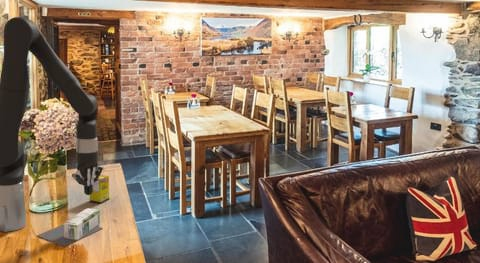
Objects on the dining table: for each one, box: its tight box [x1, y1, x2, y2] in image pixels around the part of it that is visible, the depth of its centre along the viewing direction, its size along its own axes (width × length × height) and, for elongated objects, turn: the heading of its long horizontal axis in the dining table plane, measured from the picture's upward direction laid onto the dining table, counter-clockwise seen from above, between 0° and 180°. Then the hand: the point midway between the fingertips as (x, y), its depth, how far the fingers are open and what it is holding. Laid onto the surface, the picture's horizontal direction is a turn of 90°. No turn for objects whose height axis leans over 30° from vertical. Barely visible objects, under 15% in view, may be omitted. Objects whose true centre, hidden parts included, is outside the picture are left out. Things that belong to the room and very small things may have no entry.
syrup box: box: [62, 207, 101, 241], centre depth 153 cm, size 6×6×14 cm
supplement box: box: [89, 174, 110, 204], centre depth 182 cm, size 6×6×11 cm
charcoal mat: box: [36, 224, 103, 248], centre depth 153 cm, size 17×14×1 cm
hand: (88, 194), depth 158 cm, fingers closed
